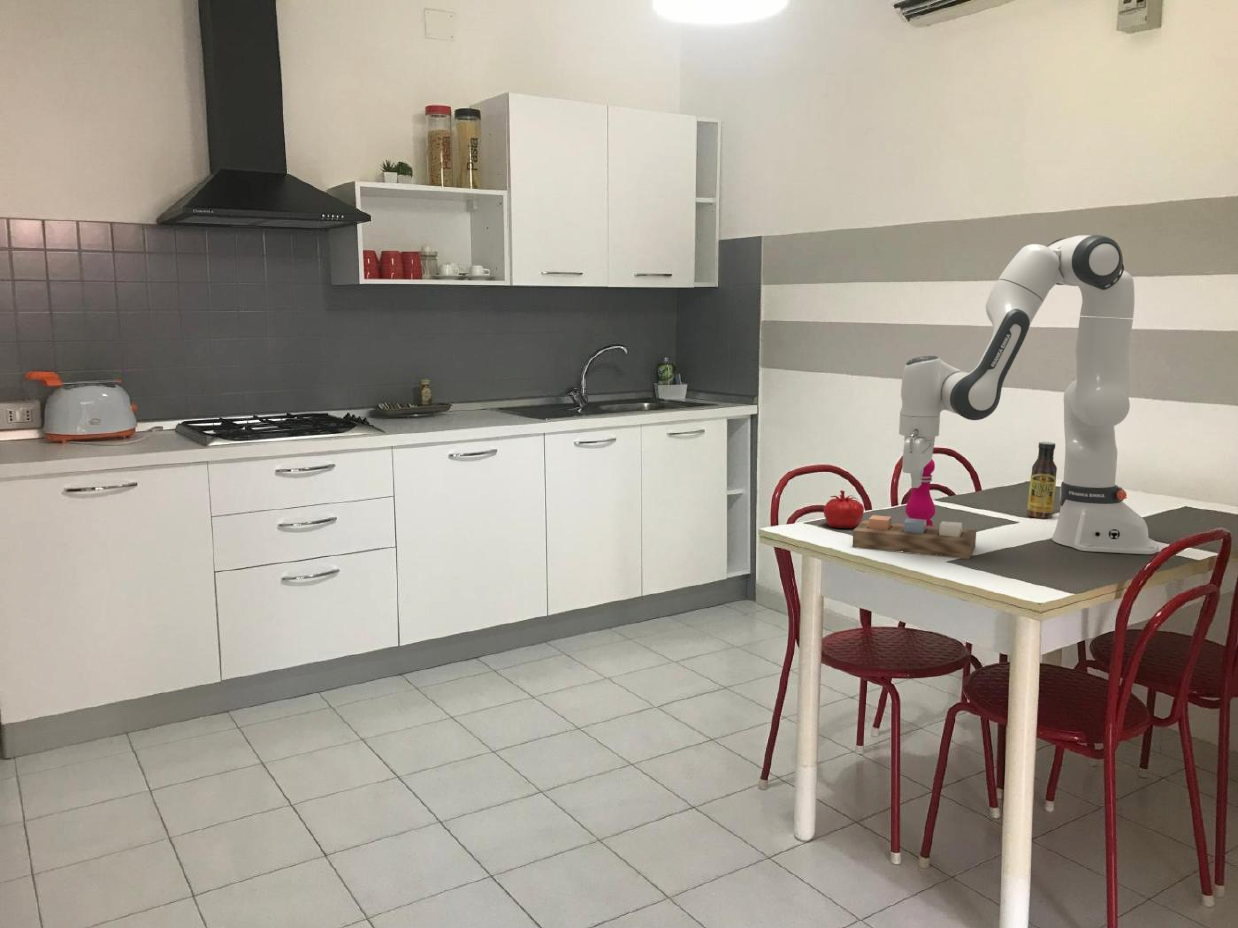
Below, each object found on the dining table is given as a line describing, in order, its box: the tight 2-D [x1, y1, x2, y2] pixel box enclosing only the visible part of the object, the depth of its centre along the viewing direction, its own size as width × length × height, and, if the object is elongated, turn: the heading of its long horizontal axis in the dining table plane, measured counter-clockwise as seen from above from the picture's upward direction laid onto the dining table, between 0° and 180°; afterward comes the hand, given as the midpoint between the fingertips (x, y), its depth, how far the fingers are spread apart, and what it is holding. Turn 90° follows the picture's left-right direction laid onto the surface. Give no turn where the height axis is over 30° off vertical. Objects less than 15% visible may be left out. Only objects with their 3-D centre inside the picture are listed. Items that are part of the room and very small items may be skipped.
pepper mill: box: [905, 458, 936, 526], centre depth 252 cm, size 7×7×20 cm
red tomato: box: [823, 490, 865, 529], centre depth 255 cm, size 10×10×9 cm
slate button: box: [903, 517, 926, 534], centre depth 233 cm, size 4×4×4 cm
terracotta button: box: [868, 514, 892, 530], centre depth 237 cm, size 4×4×4 cm
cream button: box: [939, 520, 963, 537], centre depth 230 cm, size 4×4×4 cm
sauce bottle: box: [1026, 441, 1058, 519], centre depth 264 cm, size 6×6×20 cm
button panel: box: [852, 519, 977, 560], centre depth 234 cm, size 26×12×4 cm, turn 65°
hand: (916, 486), depth 232 cm, fingers closed
